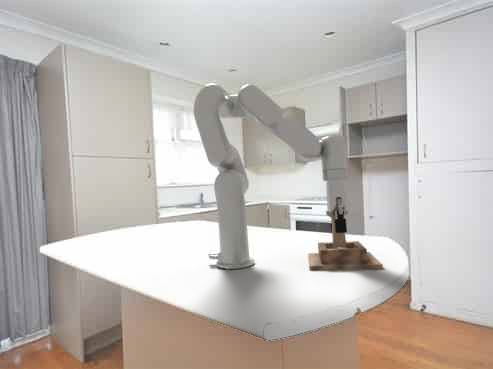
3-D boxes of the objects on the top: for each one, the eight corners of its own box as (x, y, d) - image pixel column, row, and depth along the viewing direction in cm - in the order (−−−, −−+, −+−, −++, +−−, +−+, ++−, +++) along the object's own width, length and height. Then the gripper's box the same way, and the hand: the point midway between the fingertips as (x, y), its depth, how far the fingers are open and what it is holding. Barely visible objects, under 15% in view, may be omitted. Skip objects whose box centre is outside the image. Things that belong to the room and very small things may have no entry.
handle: (349, 261, 86) (344, 211, 86) (328, 259, 90) (323, 211, 90) (353, 257, 90) (349, 209, 90) (332, 255, 94) (328, 209, 94)
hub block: (309, 270, 84) (308, 251, 84) (308, 256, 100) (307, 241, 100) (382, 269, 80) (381, 249, 80) (369, 255, 96) (368, 238, 96)
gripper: (320, 177, 100) (324, 226, 99) (325, 175, 83) (329, 235, 82) (343, 175, 98) (347, 226, 98) (352, 173, 81) (356, 234, 81)
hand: (339, 230), depth 90 cm, fingers open, 9 cm apart
